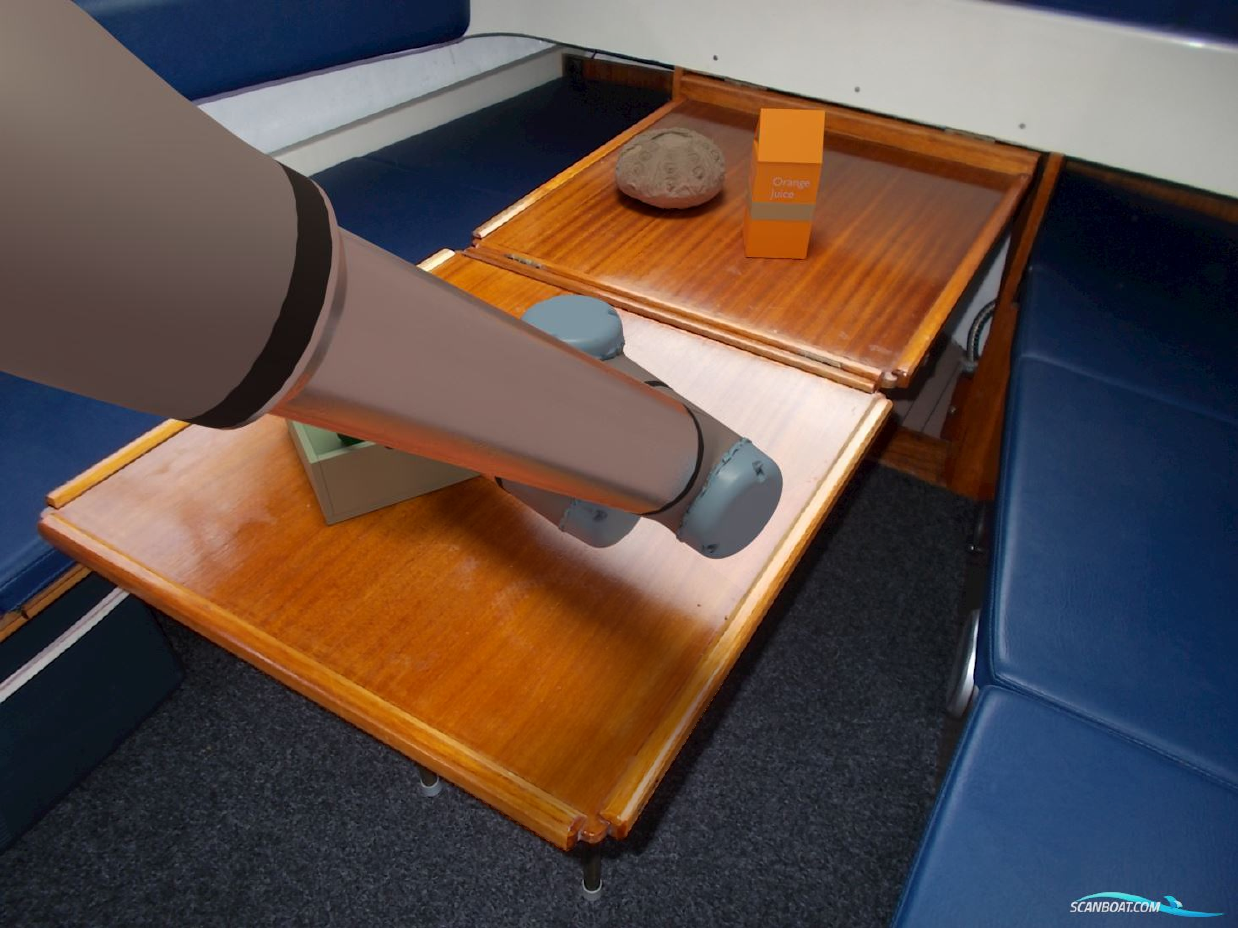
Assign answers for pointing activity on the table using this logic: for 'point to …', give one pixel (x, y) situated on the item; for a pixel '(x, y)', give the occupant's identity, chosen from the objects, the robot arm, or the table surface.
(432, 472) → the open box
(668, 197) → the decorative shell
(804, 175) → the orange juice
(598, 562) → the table surface
